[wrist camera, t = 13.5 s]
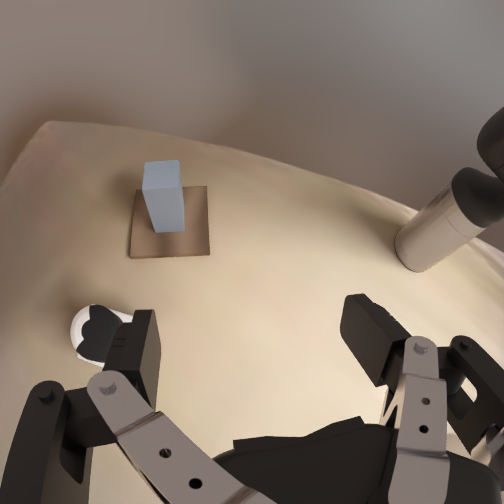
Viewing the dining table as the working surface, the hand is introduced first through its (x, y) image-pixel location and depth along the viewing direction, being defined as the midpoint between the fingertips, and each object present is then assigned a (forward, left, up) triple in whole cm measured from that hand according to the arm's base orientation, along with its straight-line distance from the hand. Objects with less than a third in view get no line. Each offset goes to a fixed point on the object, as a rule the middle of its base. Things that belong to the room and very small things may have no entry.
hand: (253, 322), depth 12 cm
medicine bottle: (+14, -3, -29) cm, 32 cm away
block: (+7, -22, -28) cm, 36 cm away
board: (+7, -22, -29) cm, 37 cm away
